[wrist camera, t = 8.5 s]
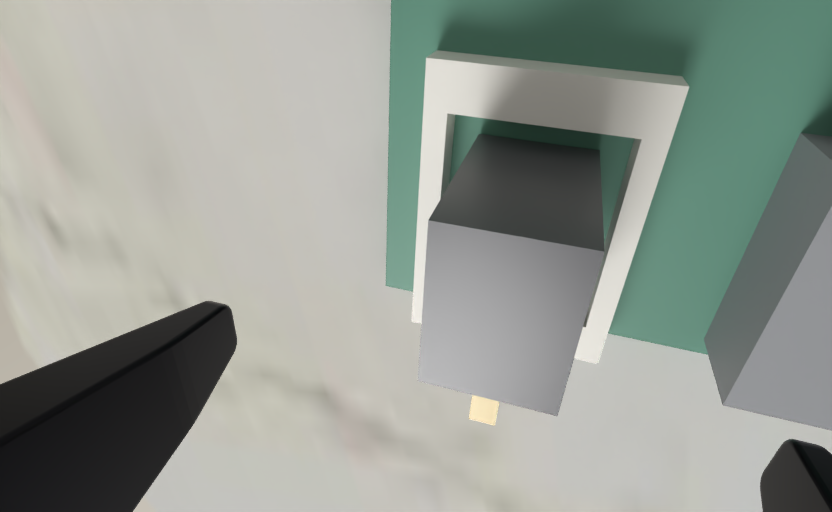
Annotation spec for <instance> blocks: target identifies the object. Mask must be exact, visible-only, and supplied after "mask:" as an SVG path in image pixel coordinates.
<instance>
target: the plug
mask: <svg viewBox="0 0 832 512" xmlns="http://www.w3.org/2000/svg"><path fill="white" fill-rule="evenodd" d="M604 252H605V248H604V227H603V207H602V187H601V166H600V150H594V149H587V148H580V147H572V146H565V145H558V144H551V143H543V142H536V141H529V140H521V139H514V138H507V137H499V136H492V135H485V134H478V136H477V138H476V140H475V141H474V143H473V145H472V146H471V148H470V150H469V152H468V153H467V155H466V157H465V158H464V160H463V162H462V163H461V165H460V167H459V169H458V170H457V172H456V174H455V175H454V177H453V179H452V181H451V182H450V184H449V186H448V187H447V189H446V191H445V193H444V194H443V196H442V198H441V199H440V201H439V203H438V204H437V206H436V208H435V210H434V211H433V213H432V215H431V216H430V218H429V220H428V231H427V247H426V262H425V277H424V293H423V308H422V324H421V339H420V354H419V370H418V381H419V382H423V383H427V384H431V385H435V386H439V387H443V388H447V389H451V390H455V391H459V392H463V393H467V394H471V395H472V400H471V407H470V413H469V419H471V420H475V421H479V422H483V423H487V424H490V425H494V426H495V422H496V417H497V412H498V407H499V402H503V403H507V404H511V405H515V406H519V407H523V408H527V409H531V410H535V411H539V412H543V413H547V414H551V415H555V416H557V415H558V412H559V408H560V405H561V401H562V398H563V394H564V391H565V388H566V384H567V381H568V377H569V374H570V370H571V367H572V363H573V360H574V356H575V353H576V349H577V346H578V342H579V339H580V336H581V332H582V329H583V325H584V322H585V318H586V315H587V311H588V308H589V304H590V301H591V297H592V294H593V290H594V287H595V284H596V280H597V277H598V273H599V270H600V266H601V263H602V259H603V256H604Z"/></svg>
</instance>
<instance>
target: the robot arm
mask: <svg viewBox="0 0 832 512" xmlns="http://www.w3.org/2000/svg"><path fill="white" fill-rule="evenodd" d="M236 345H237V336H236V331H235V326H234V320H233V315H232V311H231V309H230V307H229V306H227V305H225V304H221V303H217V302H213V301H205V302H202V303H200V304H197V305H195V306H192V307H190V308H187V309H185V310H182V311H180V312H177V313H175V314H173V315H170V316H168V317H165V318H163V319H160V320H158V321H155V322H153V323H150V324H148V325H145V326H143V327H141V328H138V329H136V330H133V331H131V332H128V333H126V334H123V335H121V336H118V337H116V338H113V339H111V340H108V341H106V342H103V343H101V344H99V345H96V346H94V347H91V348H89V349H86V350H84V351H81V352H79V353H76V354H74V355H71V356H69V357H66V358H64V359H62V360H59V361H57V362H54V363H52V364H49V365H47V366H44V367H42V368H39V369H37V370H34V371H32V372H30V373H27V374H25V375H22V376H20V377H17V378H15V379H12V380H10V381H7V382H5V383H2V384H0V512H133V510H134V509H135V508H136V506H137V505H138V503H139V502H140V500H141V499H142V498H143V496H144V495H145V493H146V492H147V490H148V489H149V488H150V486H151V485H152V483H153V482H154V480H155V479H156V478H157V476H158V475H159V473H160V472H161V470H162V469H163V468H164V466H165V465H166V463H167V462H168V460H169V459H170V458H171V456H172V455H173V453H174V452H175V450H176V449H177V448H178V446H179V445H180V443H181V442H182V440H183V439H184V438H185V436H186V435H187V433H188V432H189V430H190V429H191V427H192V426H193V424H194V423H195V421H196V419H197V418H198V416H199V414H200V413H201V411H202V409H203V407H204V405H205V404H206V402H207V400H208V398H209V397H210V395H211V393H212V391H213V389H214V388H215V386H216V384H217V382H218V380H219V379H220V377H221V375H222V373H223V372H224V370H225V368H226V366H227V364H228V363H229V361H230V359H231V357H232V355H233V354H234V352H235V349H236ZM760 491H761V499H762V508H763V512H832V454H831V453H830V452H828V451H827V450H826V449H825V448H823V447H821V446H819V445H816V444H812V443H807V442H803V441H799V440H795V439H789V440H787V441H785V442H784V443H783V444H782V445H781V447H780V448H779V449H778V451H777V452H776V454H775V455H774V457H773V458H772V460H771V461H770V463H769V464H768V466H767V467H766V469H765V470H764V472H763V474H762V477H761V482H760Z"/></svg>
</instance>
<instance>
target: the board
mask: <svg viewBox="0 0 832 512" xmlns="http://www.w3.org/2000/svg"><path fill="white" fill-rule="evenodd" d="M478 134H485V135H492V136H499V137H507V138H514V139H521V140H529V141H536V142H543V143H551V144H558V145H565V146H572V147H580V148H587V149H594V150H600V166H601V187H602V207H603V227H604V248H605V252H604V256H603V259H602V263H601V266H600V270H599V273H598V277H597V280H596V284H595V287H594V290H593V294H592V297H591V301H590V304H589V308H588V311H587V315H586V318H585V322H584V325H583V329H582V332H581V336H580V339H579V342H578V346H577V349H576V353H575V356H574V359H578V360H582V361H587V362H591V363H595V364H598V362H599V359H600V356H601V353H602V350H603V347H604V344H605V341H606V338H607V335H608V333H609V334H614V335H618V336H623V337H628V338H632V339H637V340H642V341H646V342H651V343H656V344H661V345H665V346H670V347H675V348H679V349H684V350H689V351H693V352H698V353H703V354H707V355H708V356H709V359H710V363H711V366H712V370H713V373H714V376H715V380H716V383H717V387H718V390H719V394H720V397H721V401H722V404H723V405H724V406H728V407H733V408H737V409H741V410H746V411H750V412H754V413H758V414H763V415H767V416H771V417H776V418H780V419H784V420H789V421H793V422H797V423H802V424H806V425H810V426H814V427H819V428H823V429H827V430H832V0H391V42H390V95H389V147H388V199H387V252H386V286H389V287H394V288H398V289H403V290H408V291H413V304H412V322H415V323H419V324H422V308H423V293H424V277H425V262H426V247H427V231H428V220H429V218H430V216H431V215H432V213H433V211H434V210H435V208H436V206H437V204H438V203H439V201H440V199H441V198H442V196H443V194H444V193H445V191H446V189H447V187H448V186H449V184H450V182H451V181H452V179H453V177H454V175H455V174H456V172H457V170H458V169H459V167H460V165H461V163H462V162H463V160H464V158H465V157H466V155H467V153H468V152H469V150H470V148H471V146H472V145H473V143H474V141H475V140H476V138H477V136H478Z"/></svg>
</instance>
